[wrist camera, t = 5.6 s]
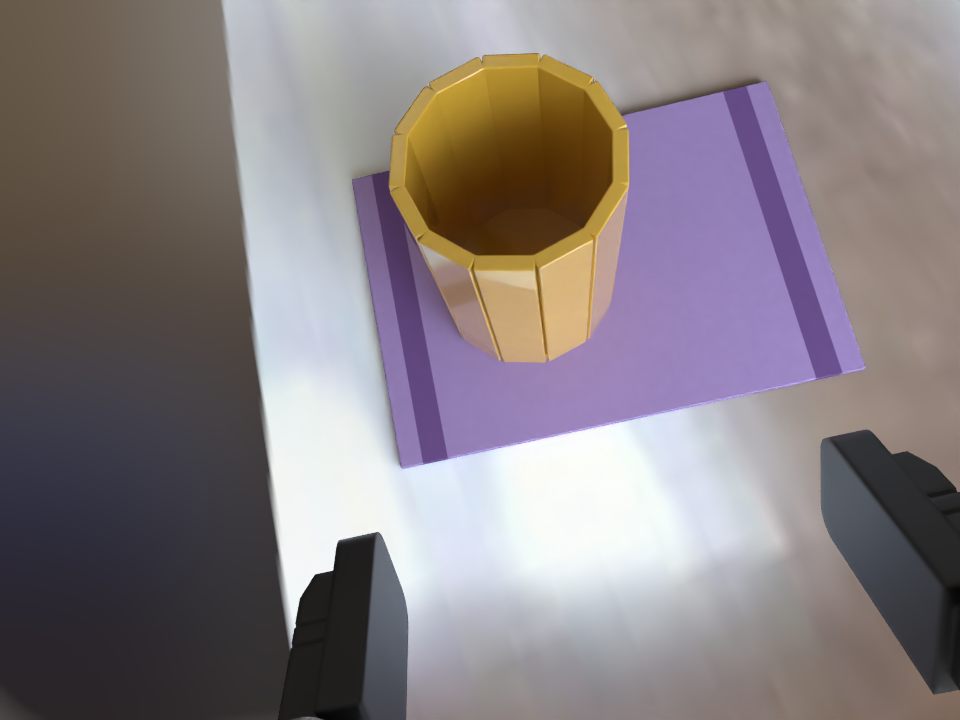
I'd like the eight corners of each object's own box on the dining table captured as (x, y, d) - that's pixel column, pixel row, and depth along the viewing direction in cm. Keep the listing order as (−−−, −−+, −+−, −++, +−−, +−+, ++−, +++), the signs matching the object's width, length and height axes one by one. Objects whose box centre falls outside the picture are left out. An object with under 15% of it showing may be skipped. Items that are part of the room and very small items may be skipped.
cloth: (765, 84, 31) (766, 80, 31) (863, 369, 28) (865, 367, 28) (353, 182, 32) (351, 179, 32) (402, 468, 29) (401, 468, 29)
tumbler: (499, 178, 31) (470, 18, 22) (642, 252, 30) (674, 114, 21) (412, 310, 30) (344, 200, 21) (555, 393, 29) (548, 314, 20)
